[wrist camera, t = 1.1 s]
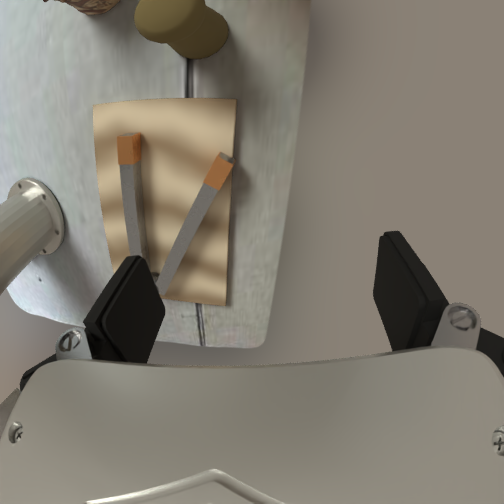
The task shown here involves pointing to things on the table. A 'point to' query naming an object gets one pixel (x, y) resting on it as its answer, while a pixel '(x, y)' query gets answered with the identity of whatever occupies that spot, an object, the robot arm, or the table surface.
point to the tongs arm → (194, 219)
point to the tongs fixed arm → (132, 193)
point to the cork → (182, 26)
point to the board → (170, 186)
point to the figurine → (91, 5)
